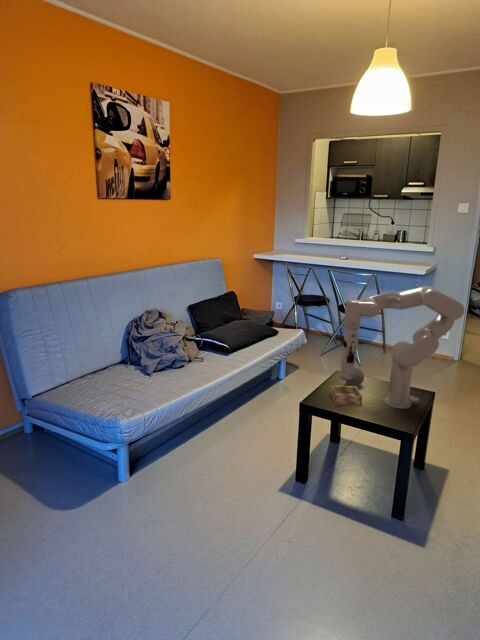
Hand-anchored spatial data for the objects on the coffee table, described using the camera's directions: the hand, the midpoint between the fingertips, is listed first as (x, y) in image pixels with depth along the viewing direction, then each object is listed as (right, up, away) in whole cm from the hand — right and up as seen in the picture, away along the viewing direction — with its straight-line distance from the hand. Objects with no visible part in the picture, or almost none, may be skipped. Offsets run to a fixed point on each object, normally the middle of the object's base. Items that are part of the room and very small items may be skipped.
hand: (348, 360), depth 219 cm
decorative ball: (+8, -16, +23) cm, 29 cm away
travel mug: (0, -9, +2) cm, 10 cm away
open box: (0, -20, +5) cm, 21 cm away
